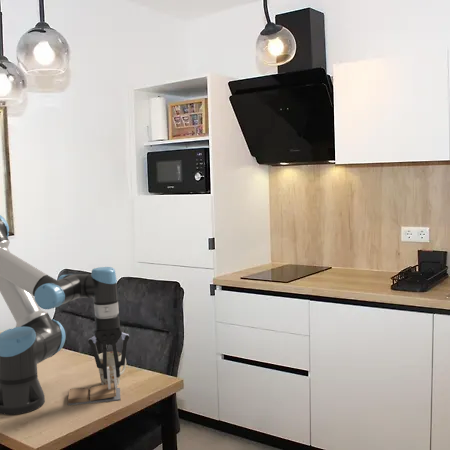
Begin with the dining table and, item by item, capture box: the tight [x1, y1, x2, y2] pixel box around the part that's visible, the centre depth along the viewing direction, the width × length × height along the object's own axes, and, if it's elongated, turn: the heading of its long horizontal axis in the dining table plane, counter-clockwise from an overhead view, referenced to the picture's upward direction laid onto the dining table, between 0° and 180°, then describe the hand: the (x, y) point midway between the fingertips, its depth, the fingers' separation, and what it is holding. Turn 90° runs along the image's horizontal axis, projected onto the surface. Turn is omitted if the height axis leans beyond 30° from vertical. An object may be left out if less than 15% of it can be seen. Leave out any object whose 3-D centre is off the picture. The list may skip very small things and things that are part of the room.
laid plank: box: [67, 387, 91, 404], centre depth 185 cm, size 6×9×1 cm
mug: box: [98, 351, 127, 386], centre depth 199 cm, size 8×13×10 cm, turn 152°
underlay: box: [67, 387, 121, 406], centre depth 186 cm, size 16×10×1 cm, turn 101°
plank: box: [89, 383, 116, 401], centre depth 187 cm, size 8×9×1 cm
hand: (112, 387), depth 187 cm, fingers closed
